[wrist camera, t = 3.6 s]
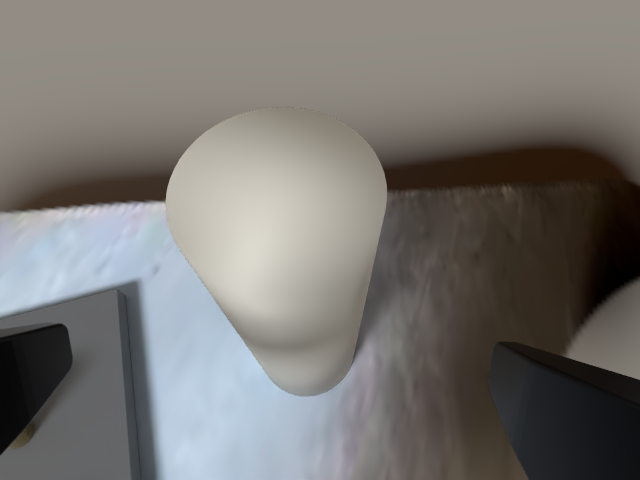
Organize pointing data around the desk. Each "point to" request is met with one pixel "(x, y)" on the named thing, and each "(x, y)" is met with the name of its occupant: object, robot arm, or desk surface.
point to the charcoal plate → (82, 400)
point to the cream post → (283, 236)
